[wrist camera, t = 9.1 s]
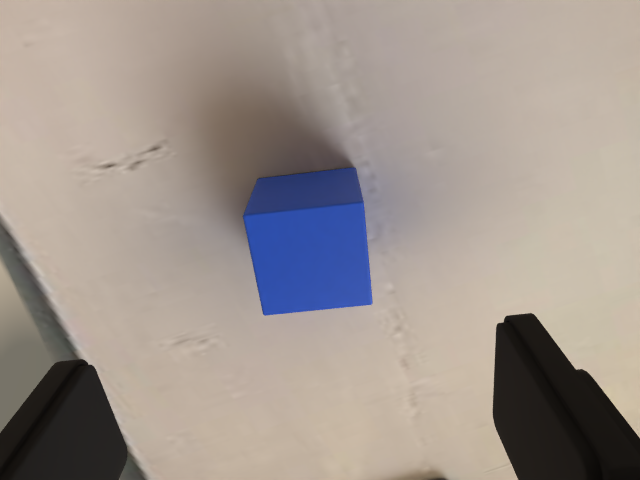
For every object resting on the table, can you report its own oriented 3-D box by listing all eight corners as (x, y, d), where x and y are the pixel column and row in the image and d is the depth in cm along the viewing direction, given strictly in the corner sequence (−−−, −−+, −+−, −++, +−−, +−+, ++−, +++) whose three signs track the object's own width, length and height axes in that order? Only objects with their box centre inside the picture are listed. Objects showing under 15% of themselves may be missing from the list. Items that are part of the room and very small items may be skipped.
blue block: (257, 178, 19) (242, 215, 15) (355, 166, 19) (363, 201, 15) (273, 264, 21) (263, 316, 17) (363, 254, 21) (372, 305, 17)
